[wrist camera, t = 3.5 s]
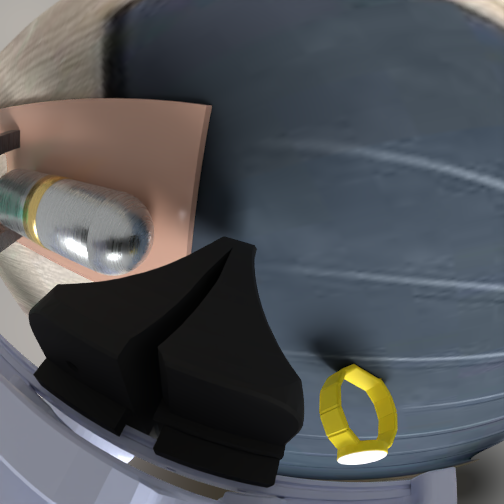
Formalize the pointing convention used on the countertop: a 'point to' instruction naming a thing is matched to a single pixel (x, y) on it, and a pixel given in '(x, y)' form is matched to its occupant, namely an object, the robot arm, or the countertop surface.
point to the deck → (119, 161)
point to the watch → (336, 422)
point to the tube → (77, 220)
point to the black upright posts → (3, 143)
